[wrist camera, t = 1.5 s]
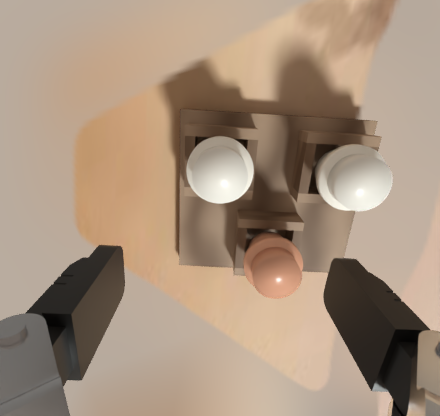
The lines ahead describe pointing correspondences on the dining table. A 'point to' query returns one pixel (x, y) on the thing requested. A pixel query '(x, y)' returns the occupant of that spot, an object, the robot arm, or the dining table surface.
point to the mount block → (267, 188)
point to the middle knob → (273, 265)
